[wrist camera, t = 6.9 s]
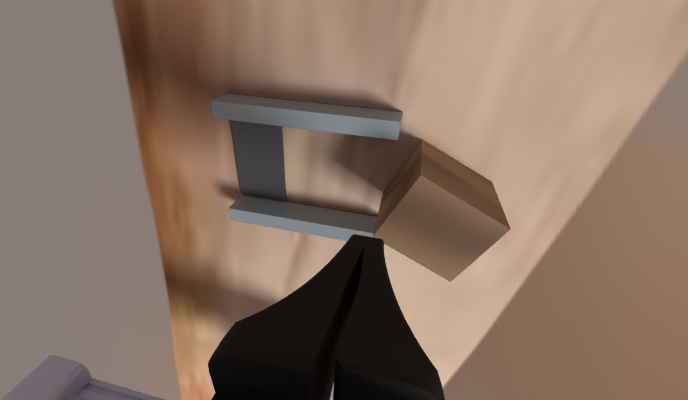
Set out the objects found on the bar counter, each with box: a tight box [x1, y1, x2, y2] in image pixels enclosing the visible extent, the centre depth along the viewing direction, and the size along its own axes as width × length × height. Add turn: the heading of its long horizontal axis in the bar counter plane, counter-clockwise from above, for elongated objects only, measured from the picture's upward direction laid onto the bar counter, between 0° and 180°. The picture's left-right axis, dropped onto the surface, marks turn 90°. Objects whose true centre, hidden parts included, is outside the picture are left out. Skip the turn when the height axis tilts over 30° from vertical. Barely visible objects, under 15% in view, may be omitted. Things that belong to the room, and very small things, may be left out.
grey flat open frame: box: [210, 94, 403, 241], centre depth 20 cm, size 8×11×2 cm
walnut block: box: [373, 140, 510, 282], centre depth 18 cm, size 4×5×5 cm
